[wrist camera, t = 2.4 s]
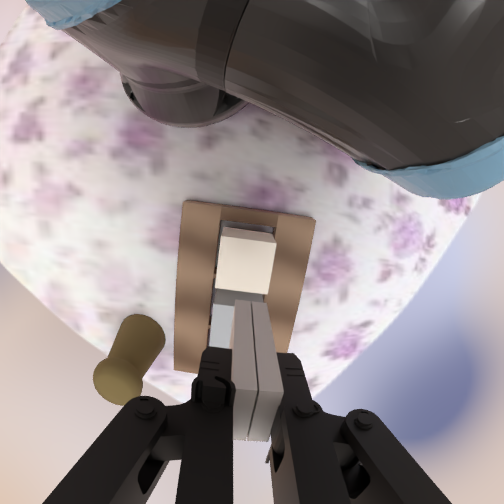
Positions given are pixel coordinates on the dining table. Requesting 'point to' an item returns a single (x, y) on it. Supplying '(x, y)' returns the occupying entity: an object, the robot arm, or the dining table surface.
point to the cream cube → (245, 260)
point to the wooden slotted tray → (204, 271)
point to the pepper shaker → (129, 359)
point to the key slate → (226, 314)
